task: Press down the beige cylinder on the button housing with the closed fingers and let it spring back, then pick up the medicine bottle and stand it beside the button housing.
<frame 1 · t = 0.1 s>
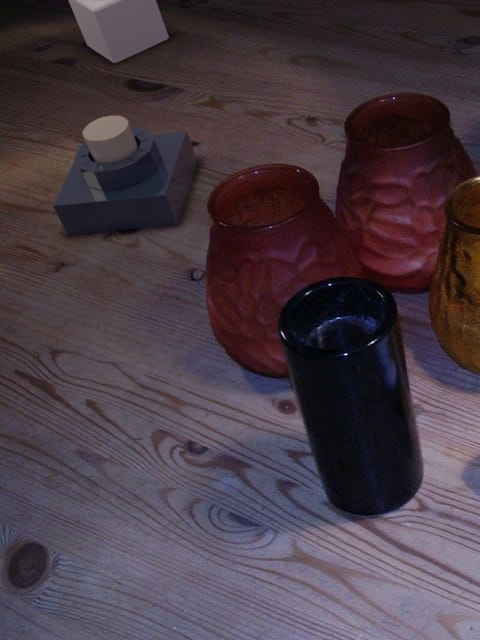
beige cylinder: (110, 140, 88), point 7 cm above the table, slide at 0.1 cm
medicine bottle: (130, 49, 115), on the table
button housing: (137, 203, 93), on the table
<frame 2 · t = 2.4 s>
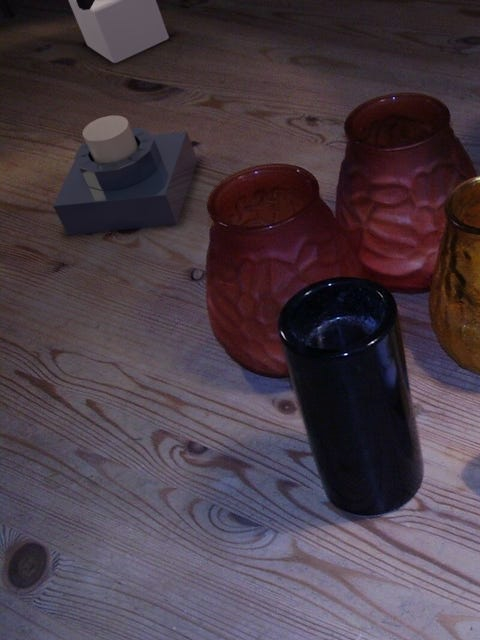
hand: (52, 4, 79), 19 cm above the table, tool pointing down, fingers open, 5 cm apart
nothing on the table moved.
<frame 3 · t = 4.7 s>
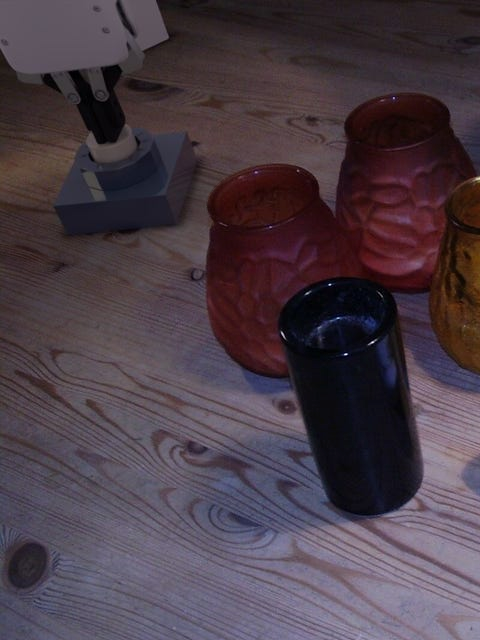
hand: (111, 134, 88), 7 cm above the table, tool pointing down, fingers closed
beige cylinder: (113, 147, 88), point 6 cm above the table, slide at -0.7 cm, touching gripper
everything else where it was.
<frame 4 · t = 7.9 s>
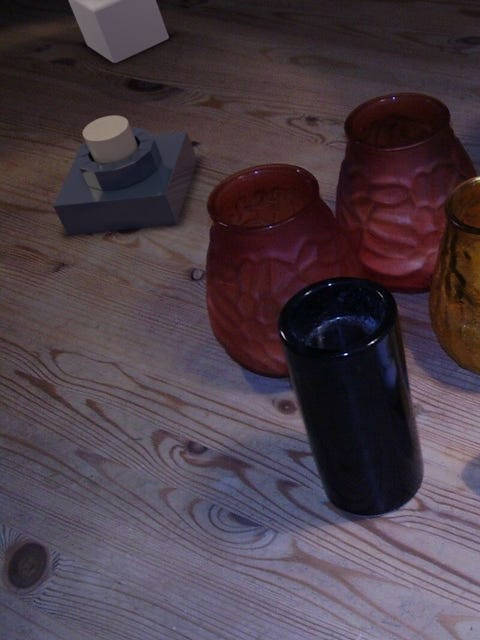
beige cylinder: (110, 140, 88), point 7 cm above the table, slide at 0.1 cm
everything else where it was.
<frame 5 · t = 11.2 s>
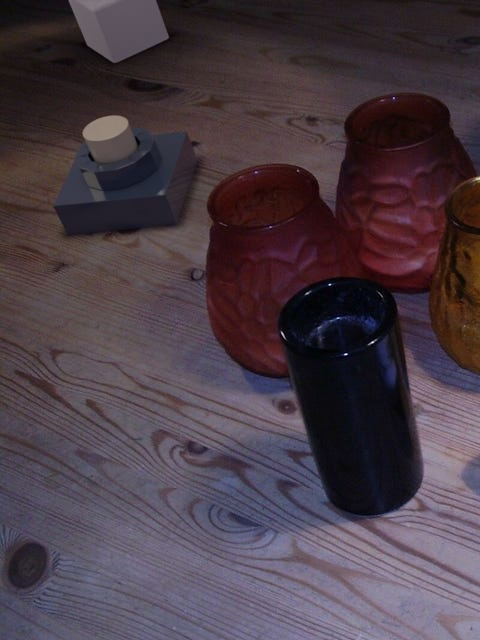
medicine bottle: (130, 48, 115), on the table, touching gripper
everything else where it was.
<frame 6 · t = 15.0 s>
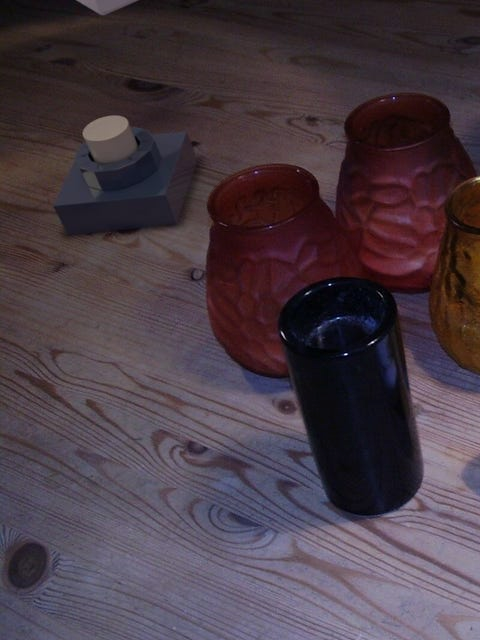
when the fingers open (7 cm above the table, at t = 18.9 s): medicine bottle stays where it is, on the table.
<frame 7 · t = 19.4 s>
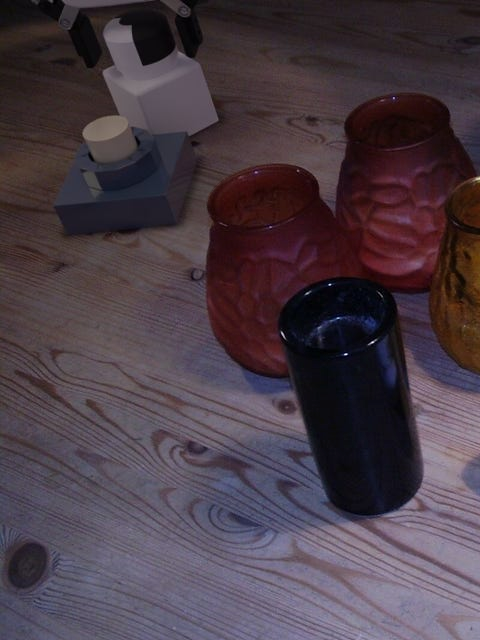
hand: (144, 56, 95), 8 cm above the table, tool pointing down, fingers open, 9 cm apart
medicine bottle: (174, 131, 101), on the table
everything else where it was.
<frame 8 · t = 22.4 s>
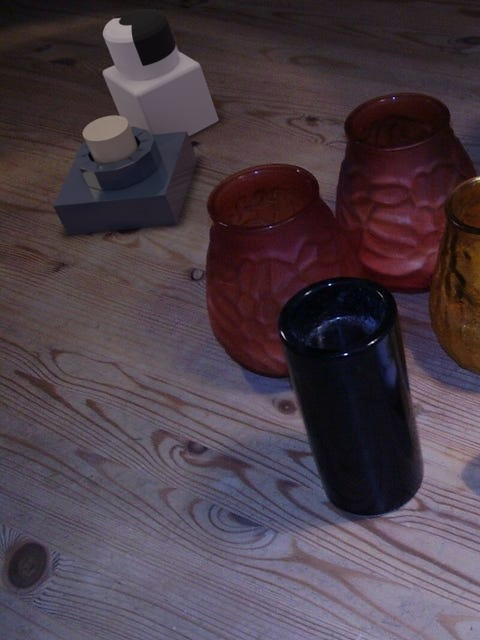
nothing on the table moved.
at the end: beige cylinder pushed in 1.3 cm at the most during the clip, back to where it started at the end; beige cylinder slide at 0.1 cm; medicine bottle 12.1 cm from the button housing (horizontally) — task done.
